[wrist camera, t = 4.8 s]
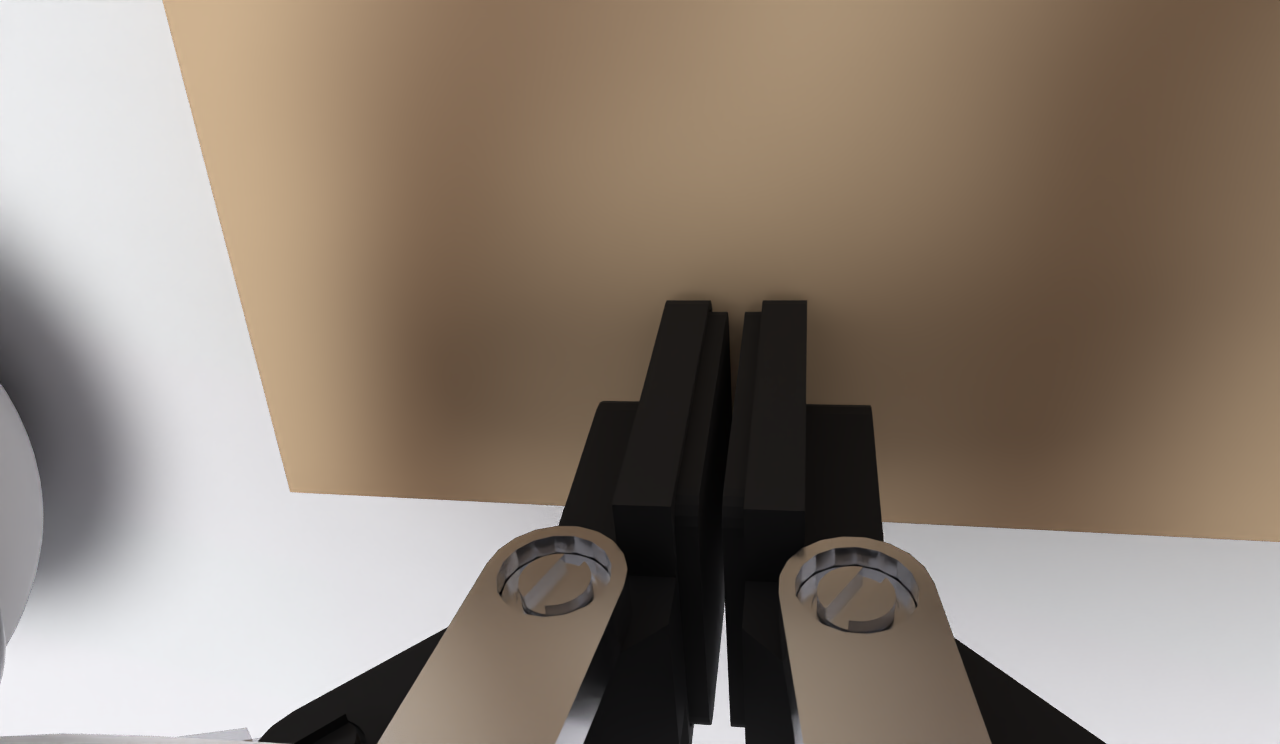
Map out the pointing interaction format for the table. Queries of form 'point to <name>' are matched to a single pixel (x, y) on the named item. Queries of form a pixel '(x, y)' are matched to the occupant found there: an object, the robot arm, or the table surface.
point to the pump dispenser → (17, 520)
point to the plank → (764, 236)
